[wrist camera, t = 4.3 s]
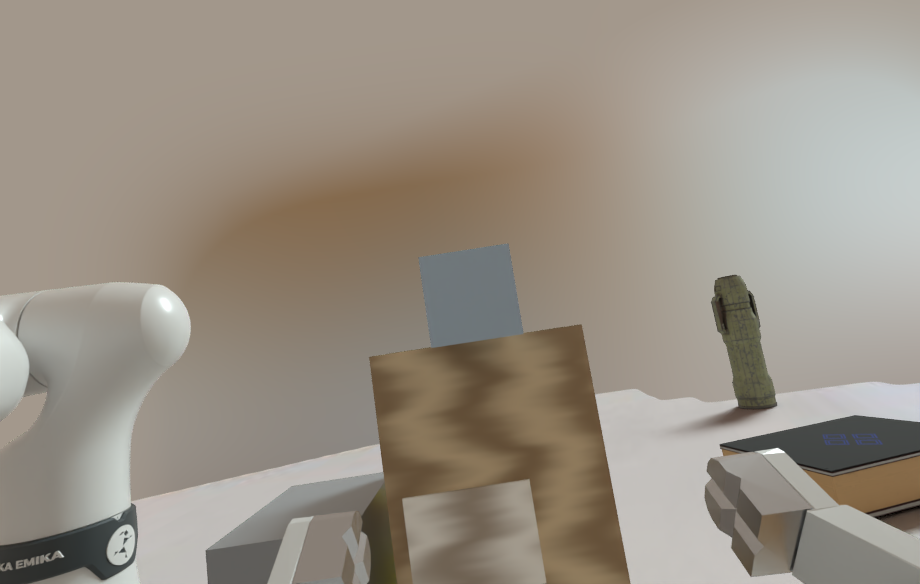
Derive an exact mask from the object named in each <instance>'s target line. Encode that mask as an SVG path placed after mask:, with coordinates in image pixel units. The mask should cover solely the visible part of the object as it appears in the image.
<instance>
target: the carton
mask: <svg viewBox="0 0 920 584" xmlns="http://www.w3.org/2000/svg"><path fill="white" fill-rule="evenodd" d="M369 359H370V367H371V375H372V383H373V391H374V399H375V408H376V415H377V424H378V432H379V440H380V449H381V457H382V465H383V473H384V481H385V489H386V497H387V506H388V514H389V522H390V530H391V538H392V546H393V554H394V563H395V571H396V579H397V584H630V579H629V573H628V568H627V563H626V558H625V552H624V547H623V542H622V536H621V531H620V526H619V520H618V515H617V510H616V505H615V499H614V494H613V489H612V483H611V478H610V473H609V467H608V462H607V457H606V452H605V446H604V441H603V436H602V430H601V425H600V420H599V414H598V409H597V404H596V399H595V393H594V388H593V383H592V377H591V372H590V367H589V362H588V356H587V351H586V346H585V341H584V335H583V330H582V325H574V326H569V327H560V328H553V329H547V330H540V331H534V332H527V333H523V334H520V335H513V336H507V337H500V338H494V339H487V340H481V341H474V342H468V343H461V344H455V345H448V346H442V347H435V348H431V347H429V348H423V349H417V350H410V351H404V352H397V353H391V354H385V355H379V356H372V357H369Z"/></svg>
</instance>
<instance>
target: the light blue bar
mask: <svg viewBox="0 0 920 584" xmlns="http://www.w3.org/2000/svg"><path fill="white" fill-rule="evenodd" d="M419 265H420V272H421V279H422V285H423V292H424V299H425V306H426V313H427V320H428V327H429V334H430V340H431V348H435V347H442V346H448V345H455V344H461V343H468V342H474V341H481V340H487V339H494V338H500V337H507V336H513V335H520V334H523V328H522V322H521V316H520V310H519V304H518V298H517V292H516V286H515V280H514V275H513V268H512V262H511V256H510V250H509V244H502V245H496V246H489V247H483V248H476V249H470V250H463V251H458V252H450V253H444V254H438V255H431V256H425V257H419Z"/></svg>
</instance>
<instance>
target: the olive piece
mask: <svg viewBox="0 0 920 584" xmlns="http://www.w3.org/2000/svg"><path fill="white" fill-rule="evenodd" d="M714 292H715V297H713V298H712V301H711V304H712V308H713V312H714V317H715V321H716V326H717V330H718V332H720V333H721V334H722V337H723V341H724V343H725V344H726V346H727V351H728V355H729V359H730V364H731V368H732V372H733V382H732V383H733V387H734V391H735V396H736V398H737V400H738V406H739V407H740V408H744V409H762V408H770V407H774V406H777V402H776V399H775V390H774V386H773V382H772V379H771V377H770V376H769V375H768V372H767V368H766V364H765V359H764V355H763V351H762V347H761V343H760V339H761V334H760V330H759V327H760V322H759V317H758V313H757V308H756V304H755V300H754V296H753V294H752V293H751V292H750V291H748V290H747V288H746V284H745V283H744V281H743V279H742V278H741V277H740V276H737V275H732V276H725V277H721V278H718V280H715V286H714Z"/></svg>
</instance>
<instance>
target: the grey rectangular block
mask: <svg viewBox="0 0 920 584" xmlns="http://www.w3.org/2000/svg"><path fill="white" fill-rule="evenodd" d="M350 511H359V513H360V516H361V518H362V521H363V522H362V528H361V532H363V533H364V534H366V535H367V537H368V541H369V546H370V552H371V569H370V578H369V582H368V583H367V584H397V579H396V571H395V563H394V554H393V546H392V538H391V530H390V522H389V514H388V506H387V497H386V489H385V481H384V473H383V472H382V473H376V474H369V475H363V476H356V477H349V478H343V479H336V480H330V481H323V482H316V483H310V484H303V485H296V486H292V487H290V488H289V489H288V490H286V491H285V492H284V493H282V494H281V495H279V496H278V497H277V498H275V499H274V500H273V501H271V502H270V503H269V504H267V505H266V506H265V507H263V508H262V509H261V510H259V511H258V512H257V513H255V514H254V515H253V516H251V517H250V518H249V519H247V520H246V521H245V522H243V523H242V524H241V525H239V526H238V527H237V528H235V529H234V530H233V531H231V532H230V533H229V534H227V535H226V536H224V537H223V538H222V539H220V540H219V541H218V542H216V543H215V544H214V545H212V546H211V547H210V548H208V549H207V550H206V562H207V576H208V584H267V583H268V580H269V577H270V574H271V571H272V569H273V566H274V563H275V560H276V557H277V554H278V551H279V548H280V546H281V543H282V540H283V537H284V534H285V531H286V528H287V526H288V524H289V523H290V522H291V520H292V519H294V518H303V517H311V516H316V515H325V514H333V513H341V512H350Z"/></svg>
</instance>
